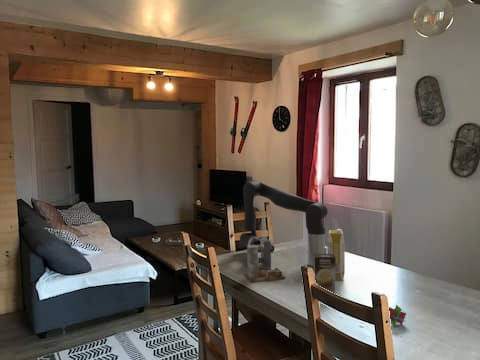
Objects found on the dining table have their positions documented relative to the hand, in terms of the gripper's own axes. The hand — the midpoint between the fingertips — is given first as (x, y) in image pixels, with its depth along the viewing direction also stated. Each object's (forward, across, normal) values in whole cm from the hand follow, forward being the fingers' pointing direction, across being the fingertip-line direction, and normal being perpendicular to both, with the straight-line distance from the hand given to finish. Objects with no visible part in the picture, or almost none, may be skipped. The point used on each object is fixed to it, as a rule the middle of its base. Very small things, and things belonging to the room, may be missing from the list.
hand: (264, 251), depth 214 cm
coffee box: (+42, +14, +9) cm, 45 cm away
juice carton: (+28, +27, +9) cm, 40 cm away
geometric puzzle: (+80, +23, +9) cm, 83 cm away
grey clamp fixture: (+2, -2, +8) cm, 9 cm away
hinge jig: (+15, -5, +8) cm, 18 cm away
